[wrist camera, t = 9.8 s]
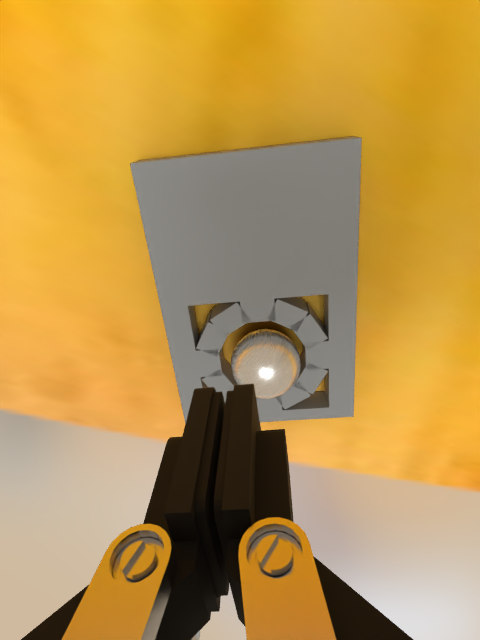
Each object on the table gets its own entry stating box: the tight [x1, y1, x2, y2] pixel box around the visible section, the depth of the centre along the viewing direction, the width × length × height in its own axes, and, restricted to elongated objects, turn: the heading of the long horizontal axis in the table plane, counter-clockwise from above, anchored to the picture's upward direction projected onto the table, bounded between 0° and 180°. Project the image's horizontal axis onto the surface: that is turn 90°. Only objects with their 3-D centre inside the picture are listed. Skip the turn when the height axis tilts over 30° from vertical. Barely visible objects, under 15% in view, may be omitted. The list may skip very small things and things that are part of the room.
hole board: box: [130, 136, 361, 423], centre depth 34 cm, size 16×24×2 cm, turn 6°
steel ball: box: [231, 329, 301, 399], centre depth 34 cm, size 6×6×6 cm
